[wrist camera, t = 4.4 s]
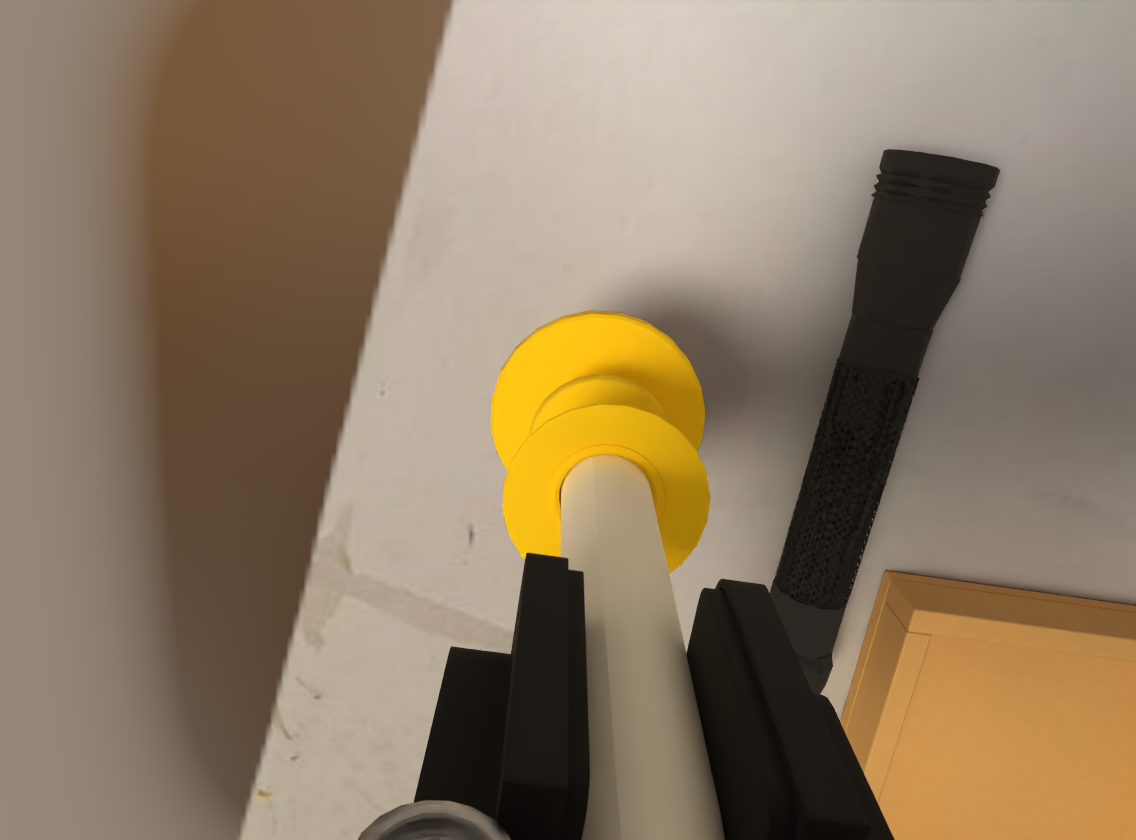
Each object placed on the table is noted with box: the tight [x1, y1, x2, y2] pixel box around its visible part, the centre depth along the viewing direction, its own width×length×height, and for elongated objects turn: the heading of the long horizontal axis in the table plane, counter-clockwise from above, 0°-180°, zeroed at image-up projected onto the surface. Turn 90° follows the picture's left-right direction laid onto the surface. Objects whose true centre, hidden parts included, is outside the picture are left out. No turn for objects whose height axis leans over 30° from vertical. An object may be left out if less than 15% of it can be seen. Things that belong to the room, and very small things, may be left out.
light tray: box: [840, 571, 1136, 840], centre depth 29 cm, size 13×13×3 cm
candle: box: [491, 311, 725, 840], centre depth 13 cm, size 5×5×16 cm
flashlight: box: [770, 150, 1000, 694], centre depth 25 cm, size 3×16×3 cm, turn 170°
